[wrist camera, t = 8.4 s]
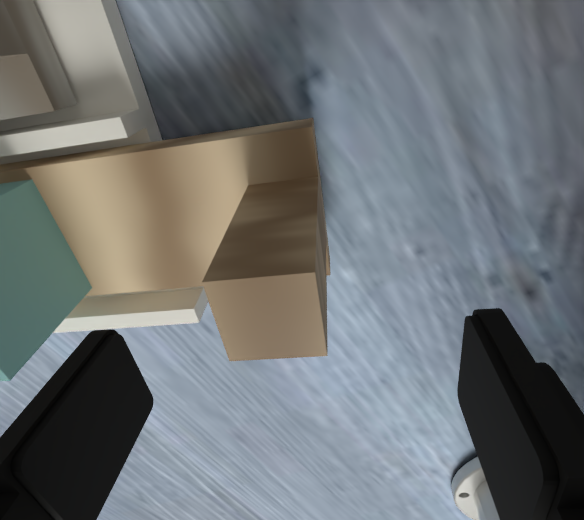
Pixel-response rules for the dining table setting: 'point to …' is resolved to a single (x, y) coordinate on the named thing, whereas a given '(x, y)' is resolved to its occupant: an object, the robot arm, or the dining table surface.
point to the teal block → (32, 275)
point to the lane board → (98, 141)
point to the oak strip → (204, 228)
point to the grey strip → (28, 64)
